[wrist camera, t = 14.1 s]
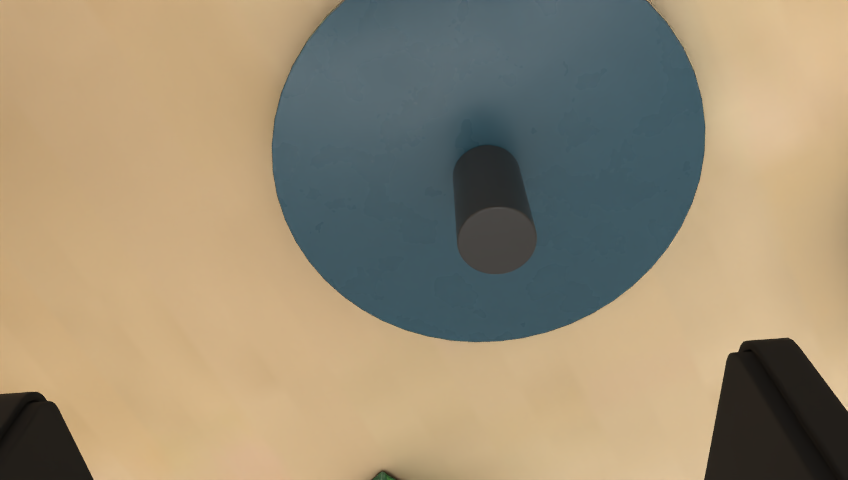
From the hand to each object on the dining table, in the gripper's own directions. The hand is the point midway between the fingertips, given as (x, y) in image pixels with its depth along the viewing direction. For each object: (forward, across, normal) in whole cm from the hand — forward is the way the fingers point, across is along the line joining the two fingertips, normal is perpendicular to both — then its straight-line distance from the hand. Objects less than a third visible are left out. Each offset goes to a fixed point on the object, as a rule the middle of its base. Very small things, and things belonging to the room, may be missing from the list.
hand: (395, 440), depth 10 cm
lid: (+18, -3, +4) cm, 18 cm away
